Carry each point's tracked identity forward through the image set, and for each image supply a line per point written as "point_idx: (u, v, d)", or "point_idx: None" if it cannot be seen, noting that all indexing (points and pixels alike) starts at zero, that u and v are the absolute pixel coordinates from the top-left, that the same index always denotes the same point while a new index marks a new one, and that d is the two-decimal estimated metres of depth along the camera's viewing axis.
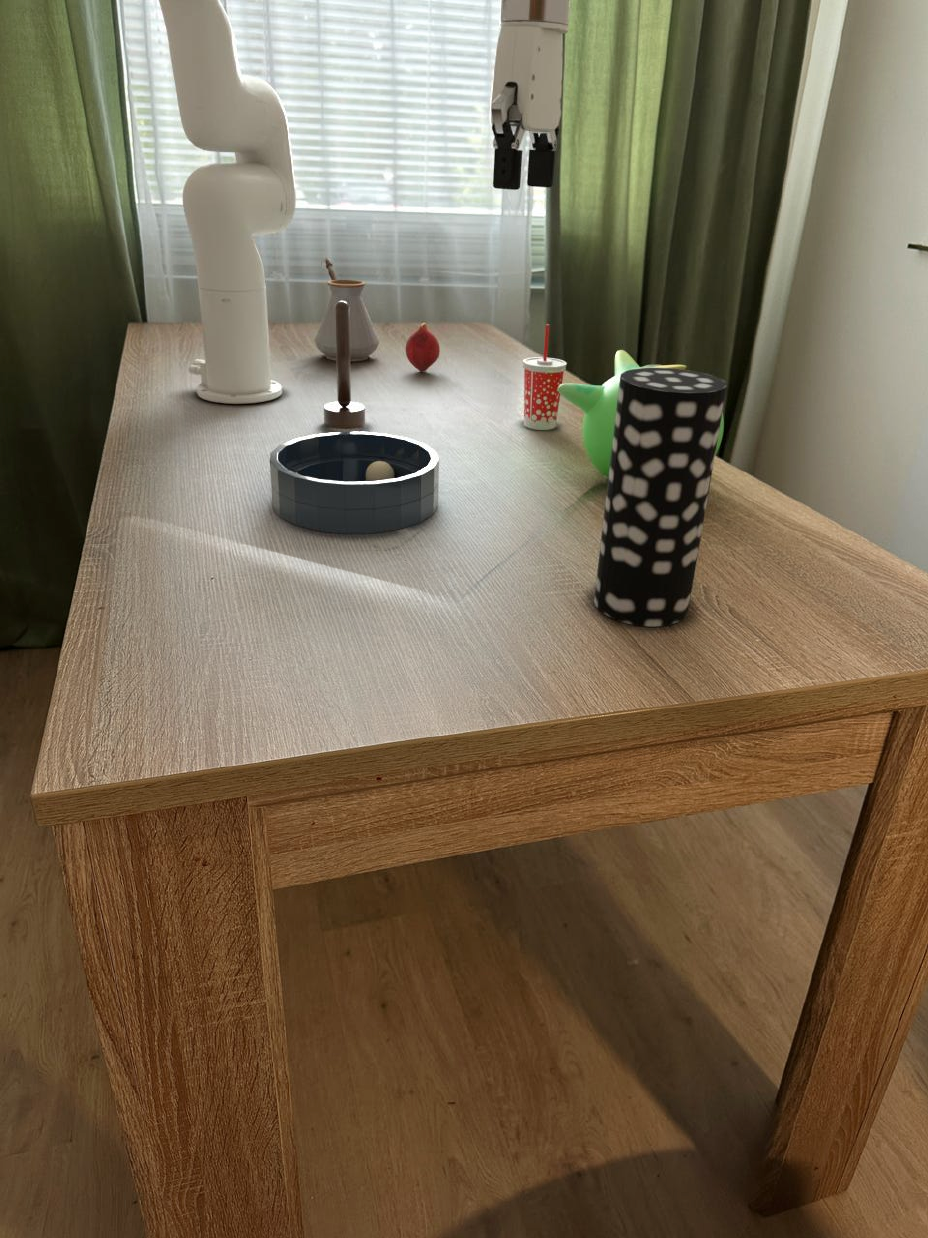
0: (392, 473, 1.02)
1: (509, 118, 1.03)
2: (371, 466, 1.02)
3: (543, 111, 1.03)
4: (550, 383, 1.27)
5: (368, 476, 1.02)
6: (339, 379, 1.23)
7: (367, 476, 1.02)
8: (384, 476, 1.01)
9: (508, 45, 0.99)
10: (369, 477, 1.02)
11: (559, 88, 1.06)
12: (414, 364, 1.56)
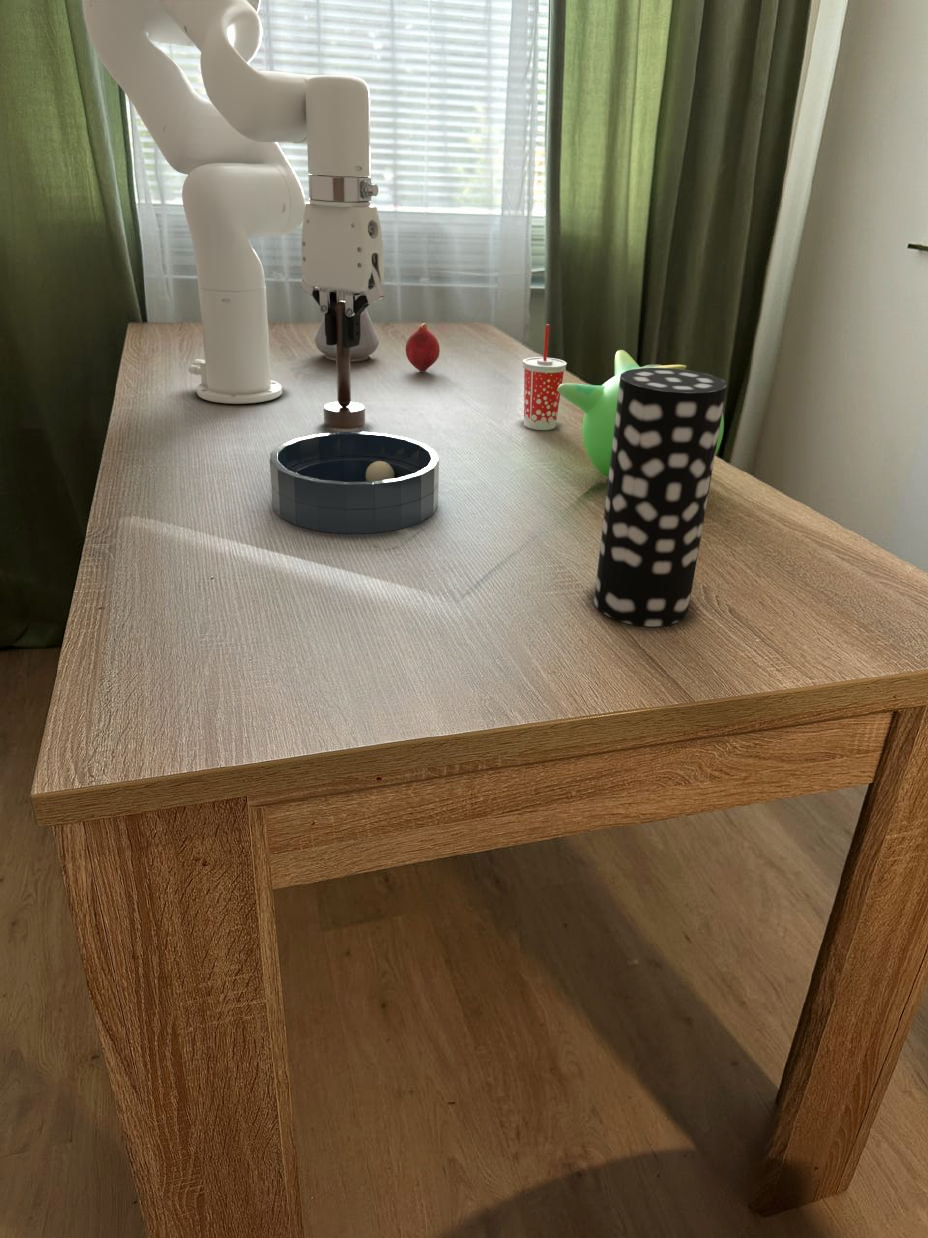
0: (392, 473, 1.02)
1: None
2: (371, 466, 1.02)
3: (325, 272, 1.16)
4: (550, 383, 1.27)
5: (368, 476, 1.02)
6: (339, 379, 1.23)
7: (367, 476, 1.02)
8: (384, 476, 1.01)
9: None
10: (369, 477, 1.02)
11: (353, 254, 1.13)
12: (414, 364, 1.56)
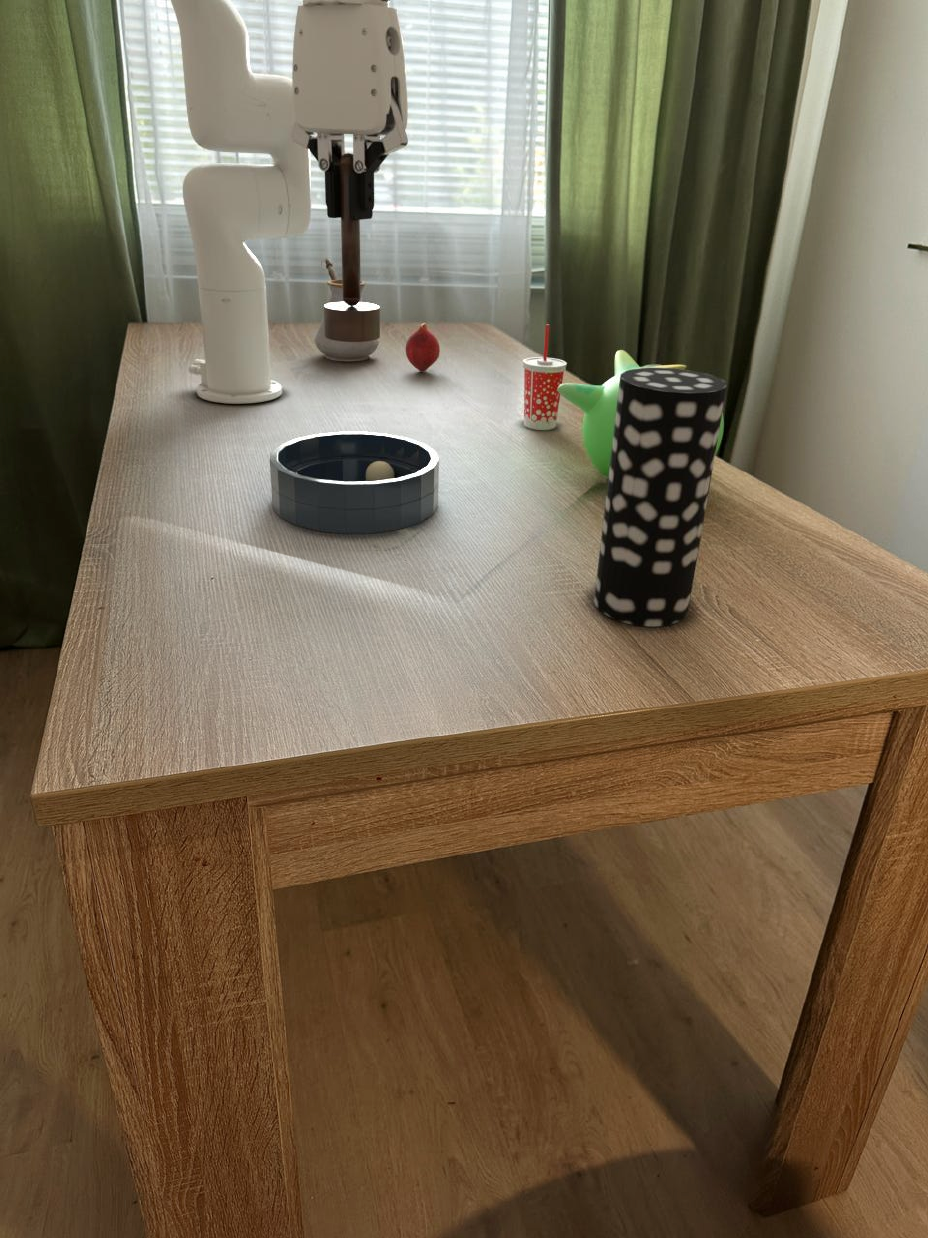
0: (392, 473, 1.02)
1: None
2: (371, 466, 1.02)
3: (325, 107, 0.83)
4: (550, 383, 1.27)
5: (368, 476, 1.02)
6: (345, 266, 0.90)
7: (367, 476, 1.02)
8: (384, 476, 1.01)
9: None
10: (369, 477, 1.02)
11: (365, 76, 0.80)
12: (414, 364, 1.56)
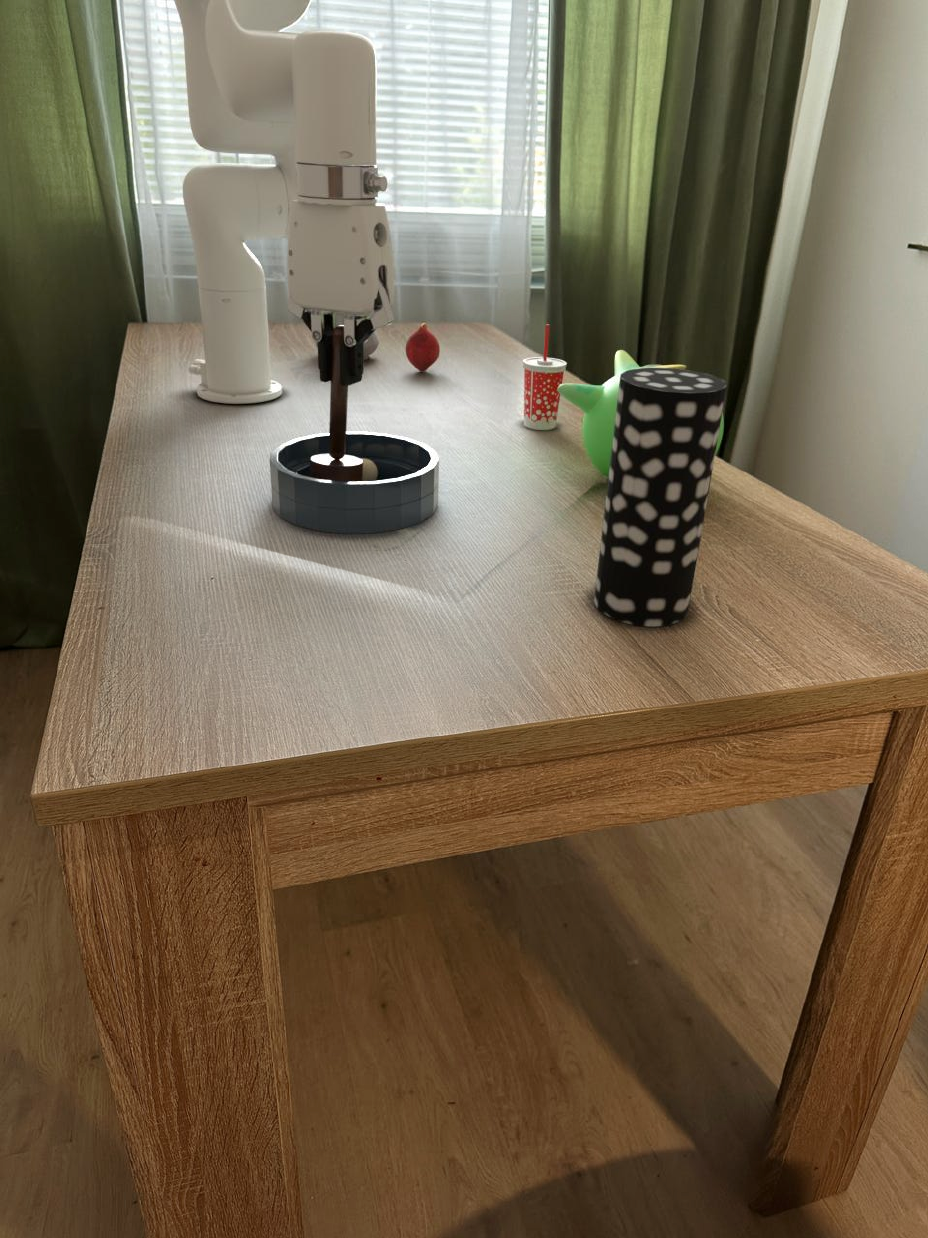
0: None
1: None
2: None
3: (317, 289, 0.90)
4: (550, 383, 1.27)
5: None
6: (333, 424, 0.96)
7: None
8: None
9: None
10: None
11: (354, 267, 0.87)
12: (414, 364, 1.56)
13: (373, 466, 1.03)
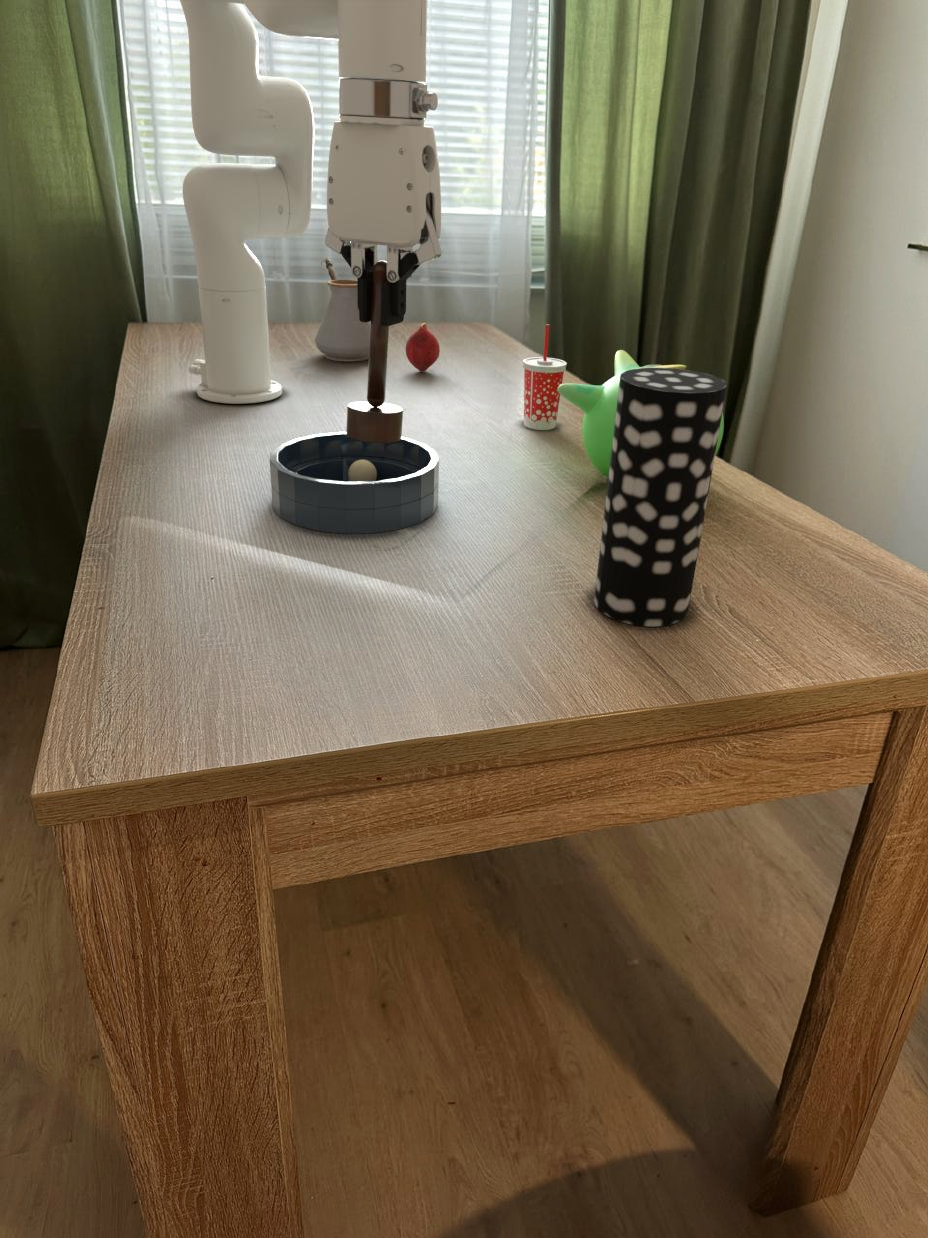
0: (361, 478, 1.02)
1: None
2: (356, 461, 1.03)
3: (359, 219, 0.84)
4: (550, 383, 1.27)
5: None
6: (372, 368, 0.90)
7: None
8: (352, 475, 1.02)
9: None
10: None
11: (400, 194, 0.81)
12: (414, 364, 1.56)
13: (371, 469, 1.02)
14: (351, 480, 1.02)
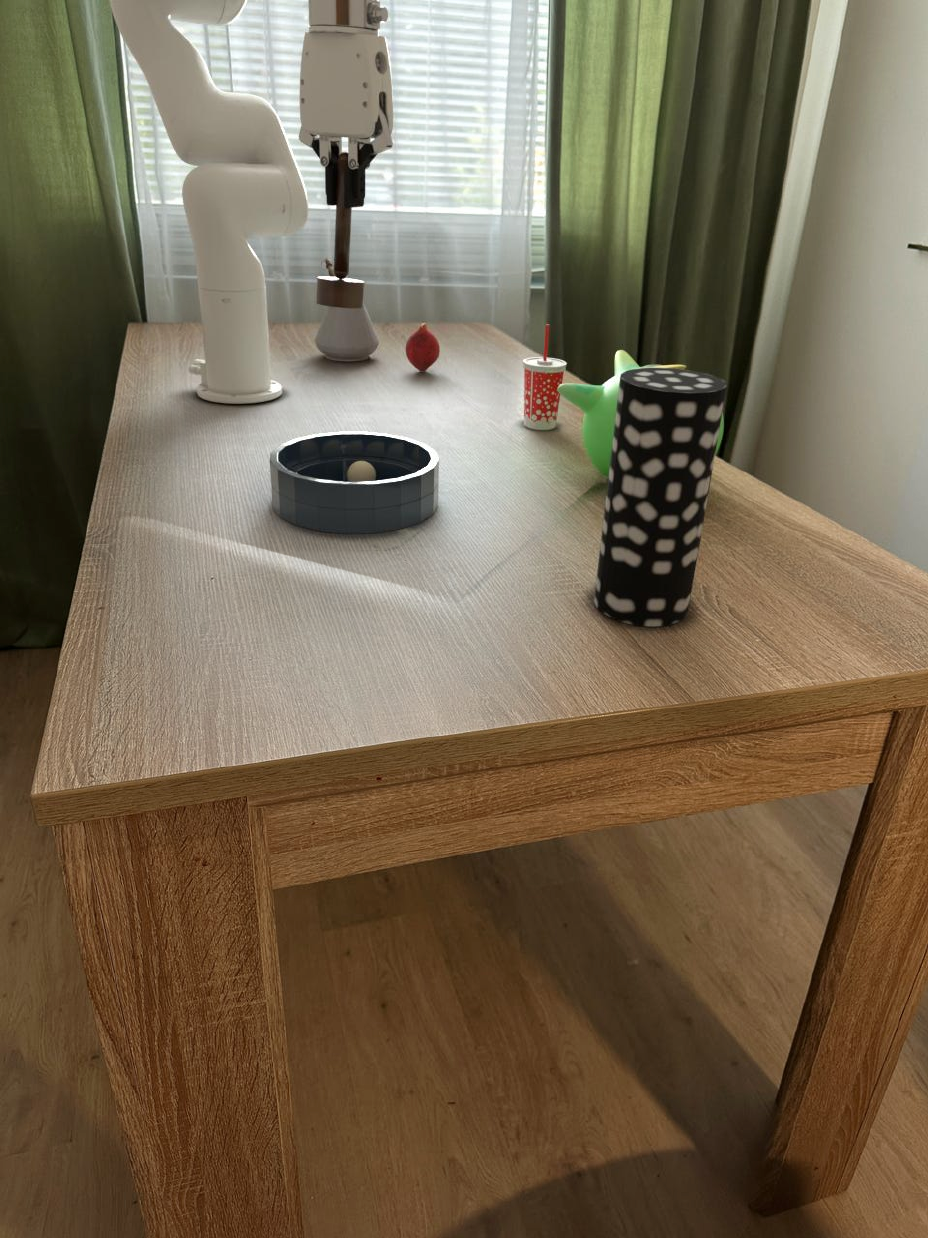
0: None
1: None
2: (354, 463, 1.02)
3: (325, 115, 1.02)
4: (550, 383, 1.27)
5: None
6: (337, 244, 1.09)
7: None
8: (351, 480, 1.02)
9: None
10: None
11: (358, 91, 0.99)
12: (414, 364, 1.56)
13: (370, 473, 1.02)
14: None
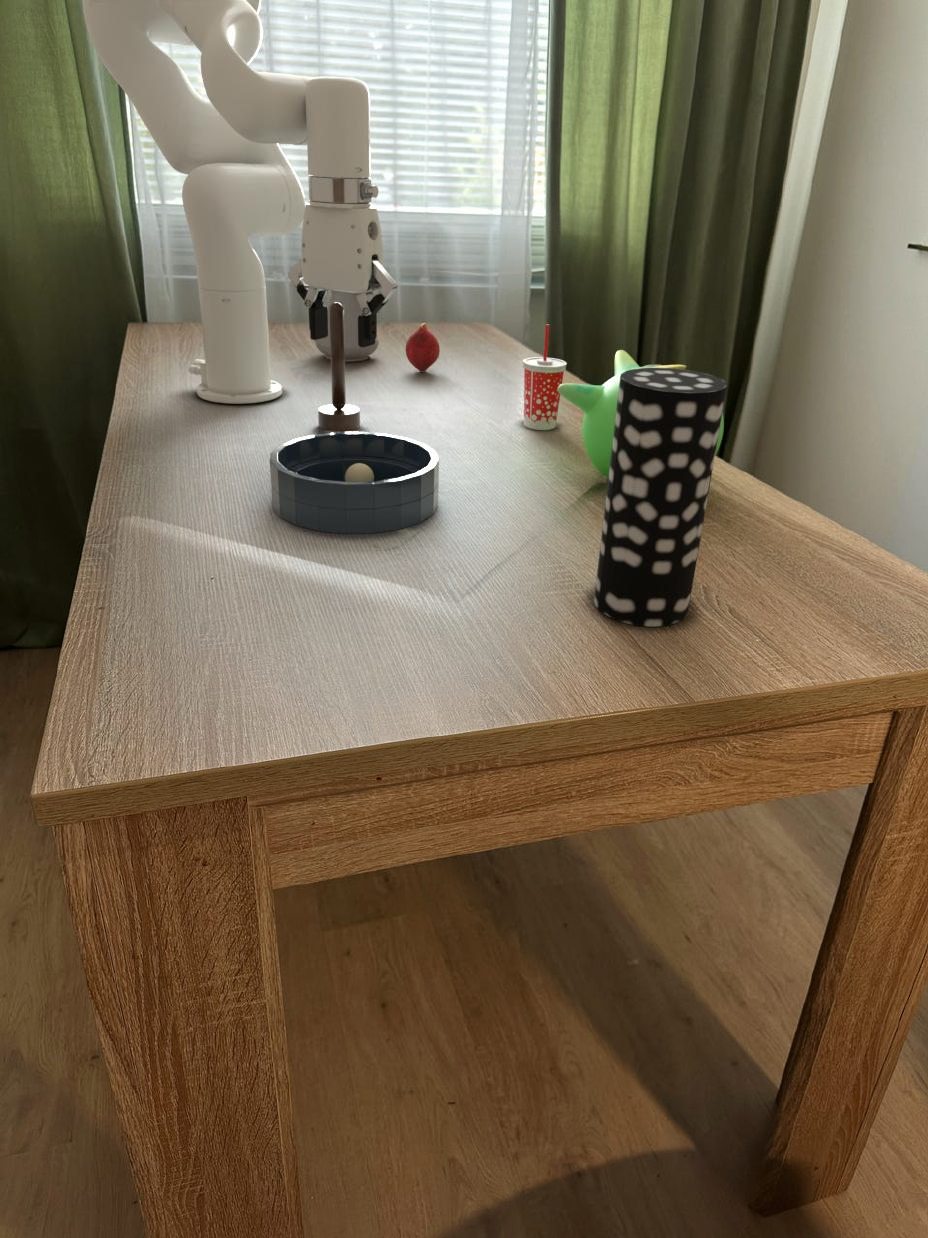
0: None
1: None
2: (350, 470, 1.01)
3: (325, 273, 1.16)
4: (550, 383, 1.27)
5: (346, 471, 1.02)
6: (334, 381, 1.22)
7: (347, 469, 1.02)
8: None
9: None
10: None
11: (353, 255, 1.13)
12: (414, 364, 1.56)
13: (368, 480, 1.01)
14: None
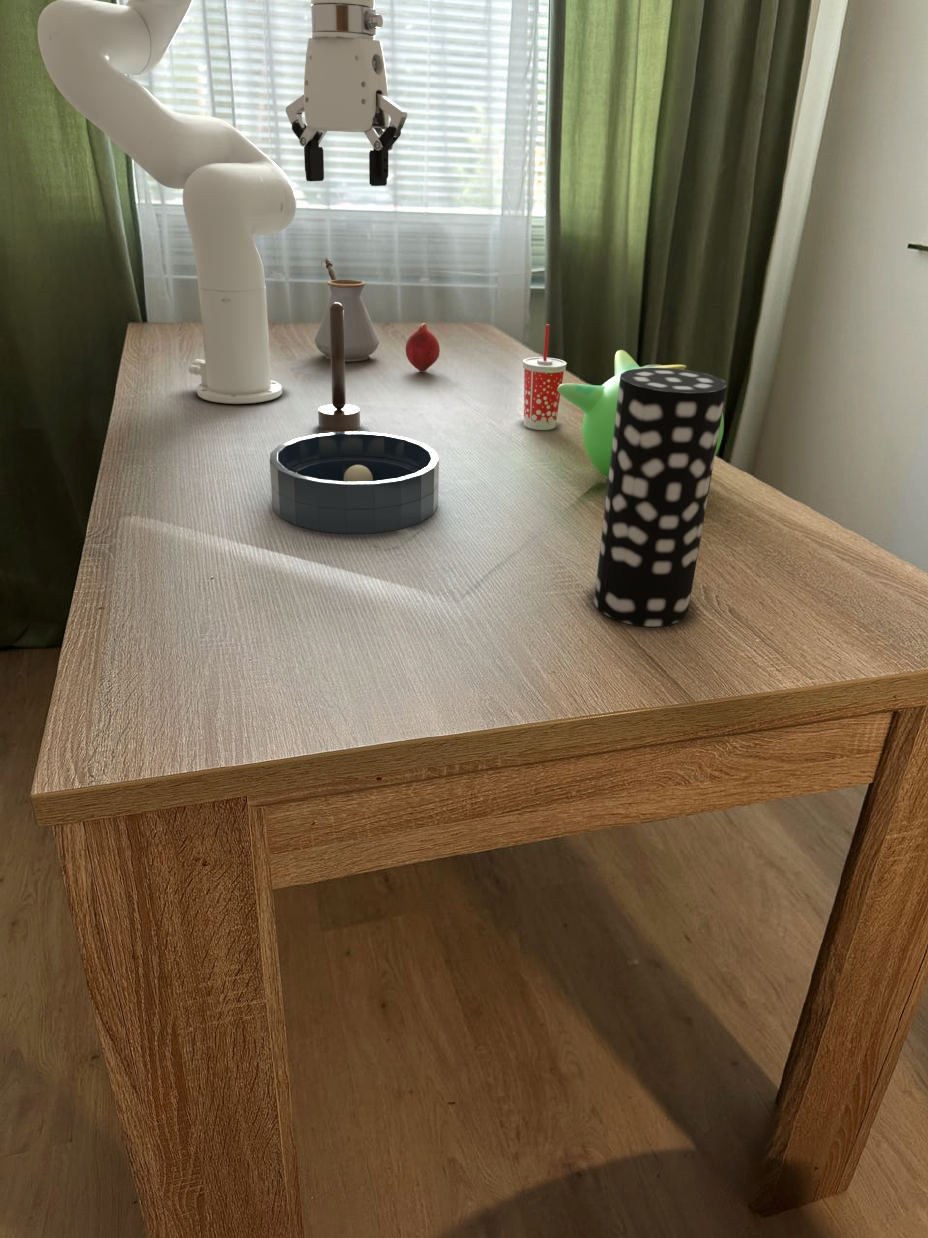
0: None
1: None
2: (348, 476, 1.00)
3: (328, 112, 1.14)
4: (550, 383, 1.27)
5: (344, 474, 1.01)
6: (334, 381, 1.22)
7: (345, 472, 1.01)
8: None
9: None
10: (344, 475, 1.01)
11: (357, 90, 1.11)
12: (414, 364, 1.56)
13: None
14: None
